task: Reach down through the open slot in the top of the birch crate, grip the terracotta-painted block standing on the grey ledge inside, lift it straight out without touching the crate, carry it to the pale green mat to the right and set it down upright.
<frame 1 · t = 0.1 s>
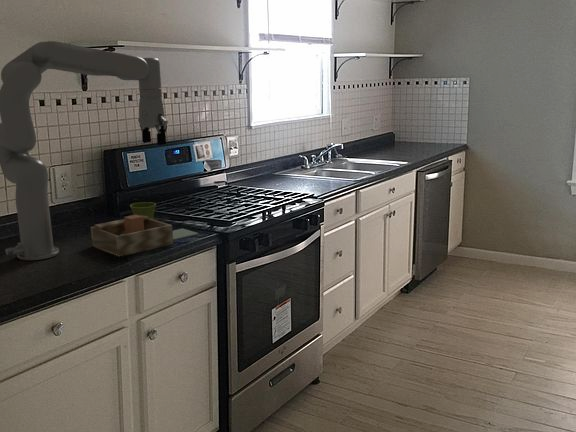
hand: (154, 143, 230), 31 cm above the countertop, tool pointing down, fingers open, 9 cm apart
crate: (132, 245, 217), on the countertop
mat: (178, 234, 229), on the countertop
block: (135, 234, 215), point 4 cm above the countertop, touching crate
plant pot: (144, 228, 240), on the countertop
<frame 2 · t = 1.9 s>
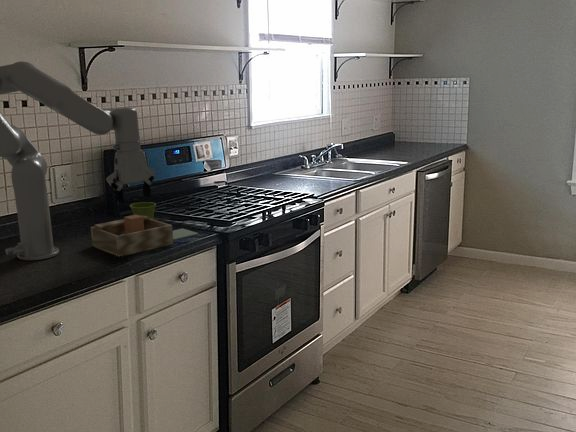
hand: (134, 199, 212), 16 cm above the countertop, tool pointing down, fingers open, 9 cm apart
nothing on the countertop moved.
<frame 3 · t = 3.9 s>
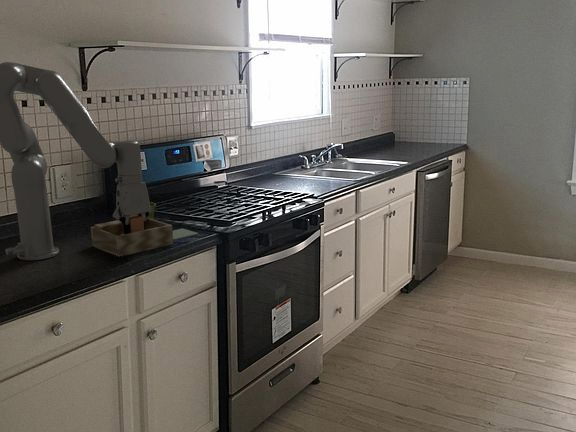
hand: (135, 233, 215), 4 cm above the countertop, tool pointing down, fingers closed on block, 4 cm apart
block: (135, 234, 215), point 4 cm above the countertop, touching crate, gripper
everything else where it was.
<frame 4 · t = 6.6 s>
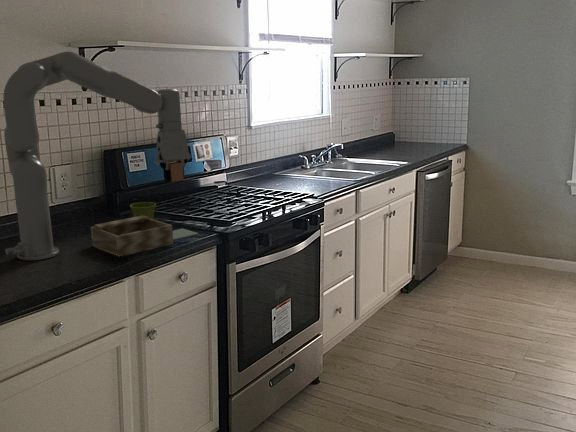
hand: (174, 179, 224), 20 cm above the countertop, tool pointing down, fingers closed on block, 4 cm apart
block: (174, 180, 224), point 19 cm above the countertop, touching gripper
everything else where it was.
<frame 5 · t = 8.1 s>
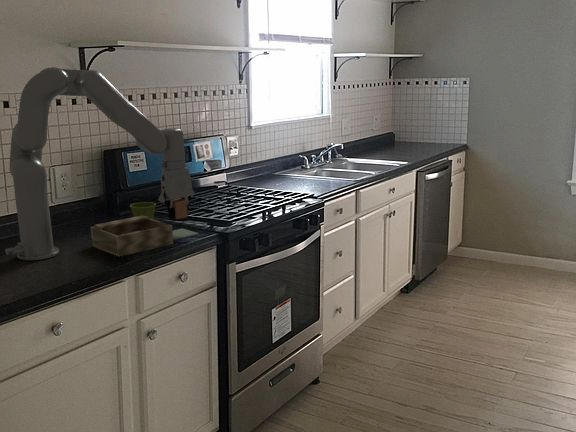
hand: (178, 216, 228), 7 cm above the countertop, tool pointing down, fingers closed on block, 4 cm apart
block: (178, 217, 228), point 6 cm above the countertop, touching gripper
everything else where it was.
when the fingers open (2 cm above the countertop, at t = 9.4 s): block drops 1 cm, resting on mat.
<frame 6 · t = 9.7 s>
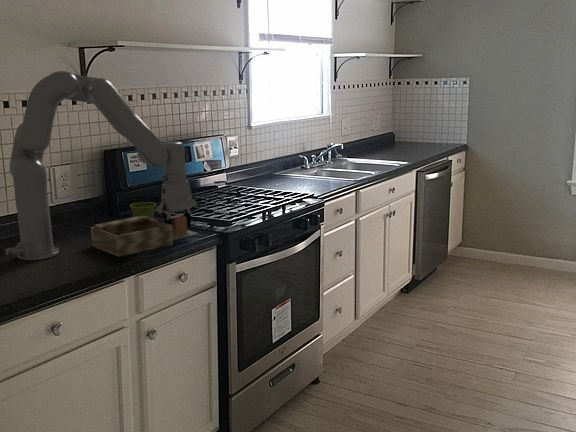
hand: (178, 227, 229), 3 cm above the countertop, tool pointing down, fingers open, 7 cm apart
block: (178, 233, 229), resting on mat
everything else where it was.
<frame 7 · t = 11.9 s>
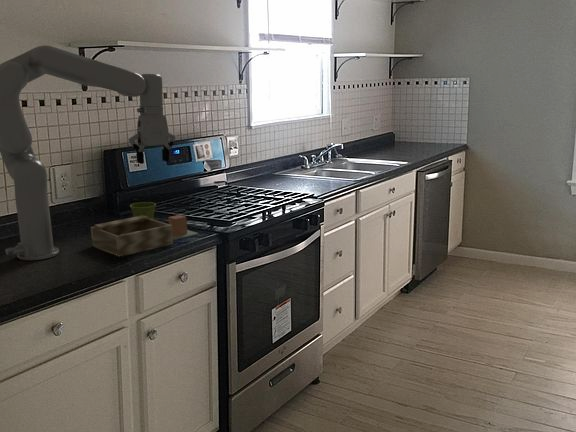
hand: (153, 162, 223), 26 cm above the countertop, tool pointing down, fingers open, 9 cm apart
nothing on the countertop moved.
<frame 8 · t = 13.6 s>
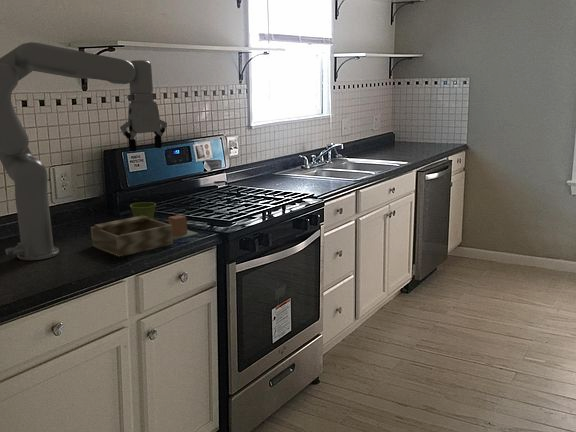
hand: (145, 149, 222), 30 cm above the countertop, tool pointing down, fingers open, 9 cm apart
nothing on the countertop moved.
at the end: block inside the target area on the mat (0.1 cm from its centre), point 0.4 cm above the mat's base; block tilted 0°; block touching mat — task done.
